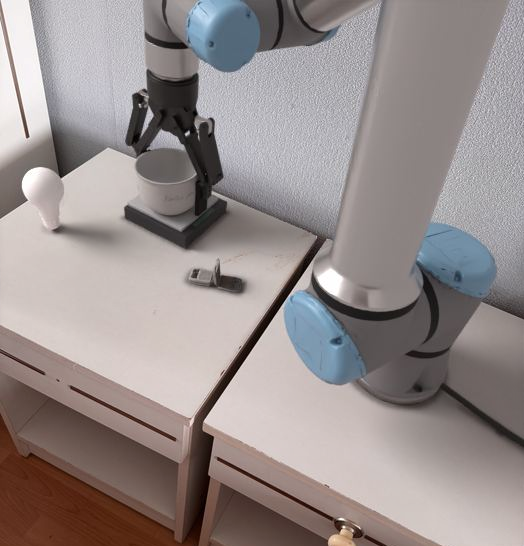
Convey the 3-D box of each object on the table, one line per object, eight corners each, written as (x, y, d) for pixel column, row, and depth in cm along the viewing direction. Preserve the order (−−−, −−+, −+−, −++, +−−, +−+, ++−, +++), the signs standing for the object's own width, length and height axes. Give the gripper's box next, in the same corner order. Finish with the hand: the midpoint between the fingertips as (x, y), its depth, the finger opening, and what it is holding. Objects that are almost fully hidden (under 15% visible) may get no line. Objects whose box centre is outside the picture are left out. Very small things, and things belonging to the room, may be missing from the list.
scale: (226, 212, 96) (227, 198, 93) (185, 249, 88) (185, 235, 86) (169, 185, 98) (169, 171, 96) (125, 218, 91) (123, 204, 89)
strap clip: (187, 283, 83) (187, 263, 80) (192, 270, 85) (192, 251, 82) (239, 293, 83) (241, 274, 80) (242, 280, 85) (245, 261, 82)
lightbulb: (54, 211, 90) (41, 154, 81) (79, 227, 88) (68, 171, 79) (25, 228, 86) (8, 170, 78) (51, 245, 84) (36, 187, 76)
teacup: (169, 232, 85) (169, 191, 79) (123, 203, 89) (119, 161, 82) (223, 197, 93) (226, 157, 87) (179, 172, 96) (178, 131, 90)
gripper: (255, 89, 73) (240, 215, 90) (125, 36, 78) (135, 164, 96) (226, 108, 69) (217, 236, 86) (91, 50, 74) (107, 182, 91)
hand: (174, 198), depth 91 cm, fingers closed on teacup, 11 cm apart
